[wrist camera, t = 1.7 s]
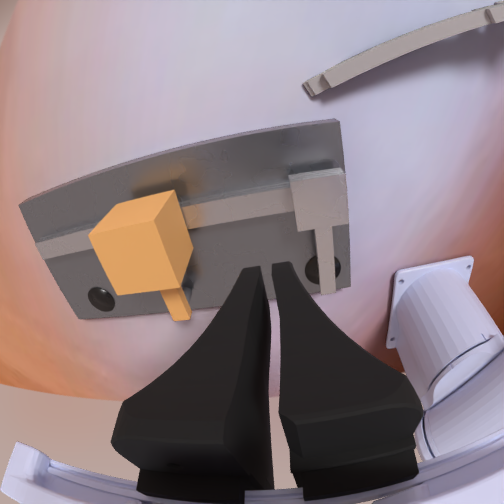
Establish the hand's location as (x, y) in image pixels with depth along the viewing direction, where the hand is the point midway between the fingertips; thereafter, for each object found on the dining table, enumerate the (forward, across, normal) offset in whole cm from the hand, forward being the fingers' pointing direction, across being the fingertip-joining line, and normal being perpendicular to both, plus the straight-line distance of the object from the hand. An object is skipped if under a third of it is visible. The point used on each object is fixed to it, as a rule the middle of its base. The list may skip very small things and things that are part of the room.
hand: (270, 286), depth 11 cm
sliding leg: (+8, +7, +2) cm, 11 cm away
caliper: (+10, -13, -10) cm, 19 cm away
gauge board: (+10, +7, +2) cm, 12 cm away
